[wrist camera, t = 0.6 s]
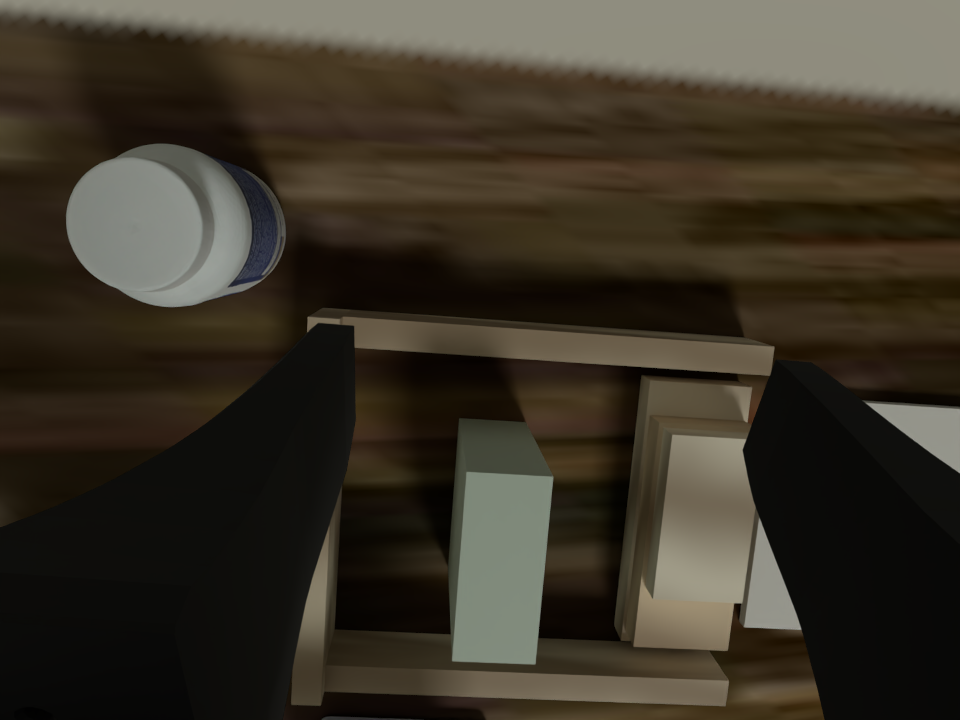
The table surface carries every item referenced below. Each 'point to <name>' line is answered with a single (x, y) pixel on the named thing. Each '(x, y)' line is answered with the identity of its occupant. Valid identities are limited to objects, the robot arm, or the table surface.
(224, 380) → the table surface
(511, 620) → the green panel
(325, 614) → the rack
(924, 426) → the grey pad
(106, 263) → the pill bottle
